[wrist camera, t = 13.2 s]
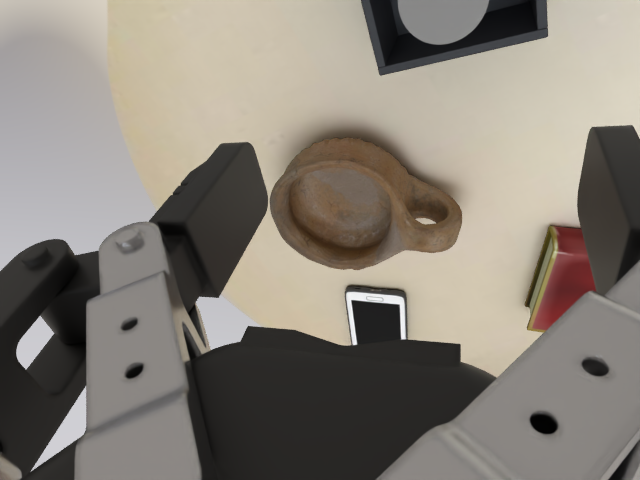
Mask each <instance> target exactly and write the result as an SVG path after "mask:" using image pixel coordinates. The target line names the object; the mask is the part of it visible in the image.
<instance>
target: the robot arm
mask: <svg viewBox="0 0 640 480" xmlns="http://www.w3.org/2000/svg"><path fill="white" fill-rule="evenodd" d="M267 206H268V195H267V190H266V187H265V184H264V180H263V177H262V174H261V170H260V167H259V163H258V160H257V157H256V153H255V150H254V148H253V146H252V145H251V144H250V143H248V142H241V143H222V144H220V145H219V146H218V148H217V149H216V150H215V151H214V152H213V154H212V155H211V156H210V157H209V159H208V160H207V161H206V162H204V163H203V164H202V165H200V166H199V167H197V168H196V169H194V170H193V171H191V172H190V173H189V174H188V175H187V177H186V178H185V179H184V180H183V181H182V183H181V186H178V187H177V188H176V190H175V191H174V192H173V195H171V196H170V197H169V198H168V199H167V200H166V202H165V203H164V204H163V205H162V206H161V207H160V209H159V210H158V211H157V212H156V213H155V215H154V216H153V217H152V218H151V219H150V221H149V222H138V223H133V224H130V225H127V226H124V227H122V228H120V229H118V230H116V231H115V232H113V233H112V234H110V235H109V236H108V237H107V238H106V239H105V240H104V241H103V242H102V244H101V245H100V248H99V251H95V252H90V253H85V254H80V255H74V253H73V251H72V250H71V248H70V247H69V245H68V244H67V243H66V242H65V241H64V240H60V239H53V240H46V241H43V242H40V243H37V244H35V245H33V246H31V247H29V248H27V249H25V250H24V251H22V252H21V253H19V254H18V255H17V256H16V257H14V258H13V259H12V260H11V261H10V262H9V263H8V264H7V265H6V266H5V267H4V268H3V269H2V270H1V271H0V480H640V139H639V137H638V135H637V133H636V131H635V129H634V127H633V126H632V125H627V126H605V127H592V128H591V129H590V131H589V135H588V139H587V144H586V150H585V155H584V161H583V167H582V172H581V178H580V183H579V189H578V201H577V207H578V217H579V221H580V225H581V229H582V233H583V238H584V242H585V246H586V250H587V254H588V258H589V263H590V267H591V271H592V275H593V279H594V283H595V288H596V291H593V290H592V291H589V292H587V293H585V294H584V295H583V296H582V297H580V298H579V299H578V300H577V301H576V302H575V303H574V304H573V305H572V306H571V307H570V308H569V309H568V310H567V311H566V312H565V313H564V314H563V315H562V316H561V317H560V318H559V319H558V320H557V321H556V322H555V323H553V324H552V325H551V326H550V327H549V328H548V329H547V330H546V331H545V332H544V333H543V334H542V335H541V336H540V337H539V338H538V339H537V340H536V341H535V342H534V343H533V344H532V345H531V346H530V347H529V348H528V349H527V350H526V351H524V352H523V353H522V354H521V355H520V356H519V357H518V358H517V359H516V360H515V361H514V362H513V363H512V364H511V365H510V366H509V367H508V368H507V369H506V370H505V371H504V372H503V373H502V374H501V375H500V376H499V377H498V378H496V377H494V376H493V375H491V374H489V373H487V372H486V371H483V370H481V369H479V368H476V367H474V366H472V365H469V364H466V363H463V362H461V344H453V343H441V342H429V341H417V340H406V339H400V340H392V341H384V342H376V343H367V344H359V345H351V346H342V345H338V344H335V343H332V342H329V341H326V340H323V339H320V338H317V337H314V336H311V335H308V334H305V333H302V332H299V331H296V330H288V329H276V328H264V327H252V326H248V327H247V329H246V331H245V333H244V336H243V338H242V340H241V342H237V343H232V344H229V345H224V346H221V347H218V348H215V349H213V350H211V349H210V346H209V342H208V339H207V336H206V332H205V328H204V325H203V322H202V318H201V314H200V311H199V309H198V307H197V305H196V303H195V302H196V301H197V299H198V297H199V296H200V297H216V298H219V296H220V294H221V292H222V291H223V289H224V287H225V285H226V283H227V282H228V280H229V278H230V276H231V275H232V273H233V271H234V269H235V267H236V266H237V264H238V262H239V260H240V258H241V257H242V255H243V253H244V251H245V250H246V248H247V246H248V244H249V242H250V241H251V239H252V237H253V235H254V233H255V232H256V230H257V228H258V226H259V225H260V223H261V221H262V219H263V217H264V216H265V214H266V211H267ZM39 316H41V317H42V318H43V319H44V321H45V322H46V323H47V324H48V326H49V327H50V328H51V329H52V331H53V332H54V333H55V334H54V335H53V336H52V337H51V339H50V340H49V341H48V343H47V344H46V345H45V346H44V348H43V349H42V350H41V352H40V353H39V354H38V356H37V357H36V358H35V359H34V361H33V362H32V363H31V364H30V366H29V367H28V368H27V370H25V368H24V367H23V366H22V365H21V364H20V363H19V362H18V360H17V357H16V349H17V345H18V342H19V340H20V339H21V338H22V336H23V335H24V334H25V333H26V332H27V330H28V329H29V328H30V327H31V326H32V324H33V323H34V322H35V321H36V320H37V318H38V317H39ZM85 386H86V390H87V393H86V399H87V400H86V402H87V403H86V406H87V407H86V408H87V409H86V412H87V413H86V414H87V415H86V416H87V417H86V422H87V423H86V431H85V433H84V435H83V436H82V437H80V438H79V439H77V440H76V441H74V442H73V443H72V444H70V445H69V446H67V447H66V448H64V449H63V450H61V451H60V452H59V453H57V454H56V455H54V456H53V457H52V458H50V459H49V460H47V461H46V462H44V463H43V464H41V465H40V466H38V467H37V468H36V469H34V470H33V471H31V470H32V468H33V467H34V465H35V463H36V462H37V460H38V459H39V457H40V456H41V454H42V453H43V451H44V449H45V448H46V446H47V445H48V443H49V442H50V440H51V439H52V437H53V436H54V434H55V433H56V431H57V429H58V428H59V426H60V425H61V423H62V422H63V420H64V418H65V417H66V416H67V414H68V412H69V411H70V409H71V407H72V406H73V405H74V403H75V402H76V400H77V398H78V397H79V395H80V394H81V392H82V391H83V389H84V388H85ZM30 471H31V472H30Z"/></svg>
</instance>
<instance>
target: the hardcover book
mask: <svg viewBox="0 0 640 480" xmlns="http://www.w3.org/2000/svg"><path fill="white" fill-rule="evenodd" d="M592 290H593V291H596V288H595V283H594V279H593V275H592V271H591V267H590V263H589V258H588V254H587V250H586V246H585V242H584V238H583V233H582V229H576V228H566V227H556V226H549V228H548V232H547V235H546V238H545V241H544V245H543V248H542V251H541V254H540V257H539V261H538V264H537V267H536V270H535V273H534V277H533V280H532V283H531V286H530V290H529V293H528V296H527V299H526V302H525V306H526V307H530V314H531V317H530V320H529V323H528V326H527V330H531V331H537V332H545V331H546V330H547V329H548V328H549V327H550V326H551V325H552V324H553V323H555V322H556V321H557V320H558V319H559V318H560V317H561V316H562V315H563V314H564V313H565V312H566V311H567V310H568V309H569V308H570V307H571V306H572V305H573V304H574V303H575V302H576V301H577V300H578V299H579V298H580V297H582V296H583V295H584V294H585V293H587V292H589V291H592Z"/></svg>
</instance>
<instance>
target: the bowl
mask: <svg viewBox="0 0 640 480" xmlns="http://www.w3.org/2000/svg"><path fill="white" fill-rule="evenodd" d="M270 209H271V214H272V217H273V219H274V222H275V224H276V226H277V228H278V231H279V233H280V235H281V236H282V238H283V239H284V240H285V242H286V243H287V244H289V245H290V246H291V247H292V248H293V249H295V250H296V251H297V252H298V253H300V254H301V255H303V256H304V257H306V258H308V259H309V260H312V261H314V262H317V263H320V264H322V265H325V266H328V267H331V268H336V269H343V270H344V269H354V270H360V269H364V268H366V267H370V266H374V265H376V264H378V263H380V262H382V261H384V260H386V259H388V258H390V257H392V256H394V255H396V254H398V253H400V252H402V251H404V250H413V251H420V252H429V253H435V252H442V251H445V250H448V249H449V248H450V247H452V246H453V245H454V244H455V242H456V240H457V237H458V234H459V231H460V228H461V224H462V211H461V209H460V206H459V205H458V204H457V203H456V201H455V200H454V199H453V198H452V197H451V196H449V195H448V194H446V193H444V192H443V191H441V190H439V189H438V188H436V187H433V186H431V185H429V184H426V183H424V182H422V181H420V180H419V179H417V178H416V177H415V176H413V175H409V174H408V173H407V170H406V168H405V167H404V166H401V165H400V163H399V161H398V160H397V159H396V158H394V157H393V156H392V155H391V153H388V152H386V151H384V150H383V148H382V147H378V146H375V145H374V144H373V143H372V142H364V141H363V140H362V139H359V138H357V139H351V138H349V137H345V138H343V139H339V138H334V139H331V140H328V139H326V140H323V141H322V142H320V143H314V144H312V146H311V147H309V148H305V149H304V150H302V151H301V153H300V154H299V155H297V156H296V157H295V158H294V159H293V160H292V162H291V163H290V164H289V166H288V167H287V169H286V171H285V173H284V175H283V176H282V177H281V178H280V179H279V180H278V181H277V183H276V184H275V186H274V187H273V190H272V193H271V197H270ZM416 218H428V219H431V220H433V221H435V222H436V224H427V225H425V224H422V223H420V222H418V221H417V220H415V219H416Z"/></svg>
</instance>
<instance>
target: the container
mask: <svg viewBox="0 0 640 480" xmlns="http://www.w3.org/2000/svg"><path fill="white" fill-rule="evenodd" d="M488 3H489V0H398V9H399V14H400V17H401V20H402V22H403V24H404V25H405V27H406V28H407V30H408V31H409V32H410V33H411V34H412V35H413V36H415V37H416V38H418V39H419V40H421V41H423V42H426V43H430V44H436V45H442V44H449V43H453V42H456V41H458V40H460V39H462V38H464V37H465V36H467V35H468V34H469V33H471V32H472V31H473V30H474V29H475V28H476V27H477V25H478V24H479V23H480V21H481V20H482V18H483V16H484V14H485V12H486V10H487V7H488Z"/></svg>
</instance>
